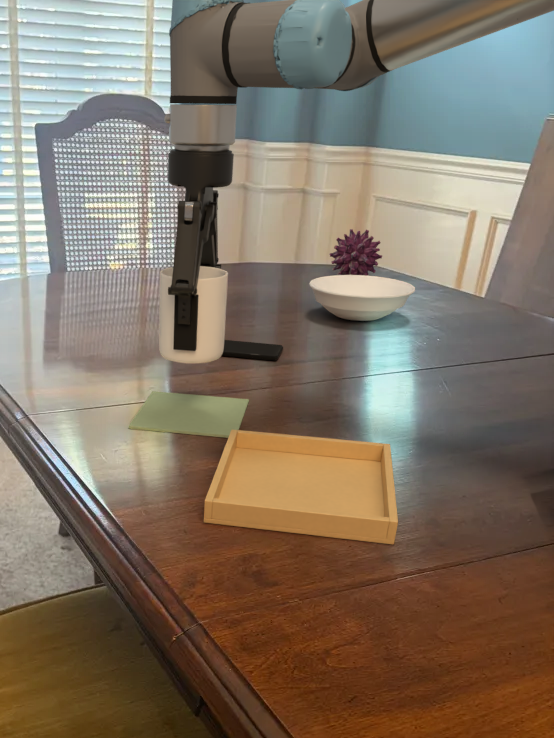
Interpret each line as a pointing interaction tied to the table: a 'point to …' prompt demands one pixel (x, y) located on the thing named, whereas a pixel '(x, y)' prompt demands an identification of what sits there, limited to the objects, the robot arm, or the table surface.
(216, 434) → the mat
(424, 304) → the table surface
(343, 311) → the bowl
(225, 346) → the smartphone
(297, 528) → the tray
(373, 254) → the purple spiky ball
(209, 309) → the cup
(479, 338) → the table surface
